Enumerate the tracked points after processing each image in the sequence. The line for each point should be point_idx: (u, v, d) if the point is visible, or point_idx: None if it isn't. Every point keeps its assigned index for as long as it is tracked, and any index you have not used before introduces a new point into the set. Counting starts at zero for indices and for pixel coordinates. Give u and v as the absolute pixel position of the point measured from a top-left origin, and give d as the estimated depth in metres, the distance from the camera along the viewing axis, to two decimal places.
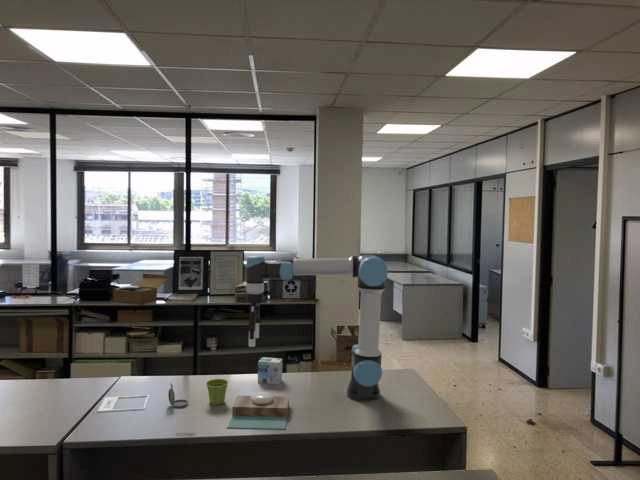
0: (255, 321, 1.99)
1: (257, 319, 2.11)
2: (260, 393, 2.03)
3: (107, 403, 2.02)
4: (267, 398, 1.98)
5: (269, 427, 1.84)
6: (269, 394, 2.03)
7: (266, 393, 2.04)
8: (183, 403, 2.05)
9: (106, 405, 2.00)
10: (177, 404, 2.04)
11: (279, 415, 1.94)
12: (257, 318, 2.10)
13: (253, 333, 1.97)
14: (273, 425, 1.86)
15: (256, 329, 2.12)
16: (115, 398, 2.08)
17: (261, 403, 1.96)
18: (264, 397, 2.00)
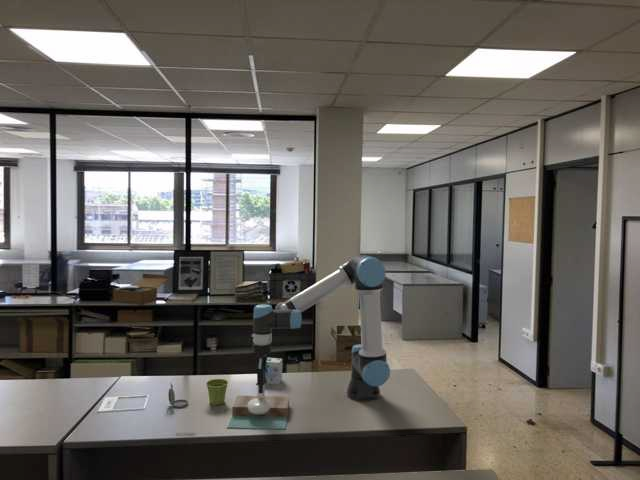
0: None
1: None
2: (257, 400, 1.95)
3: (107, 403, 2.02)
4: (264, 407, 1.90)
5: (269, 427, 1.84)
6: (266, 401, 1.94)
7: (263, 400, 1.95)
8: (183, 403, 2.05)
9: (106, 405, 2.00)
10: (177, 404, 2.04)
11: (279, 415, 1.94)
12: (263, 375, 1.98)
13: (262, 387, 1.96)
14: (273, 425, 1.86)
15: None
16: (115, 398, 2.08)
17: (258, 413, 1.88)
18: (261, 405, 1.91)
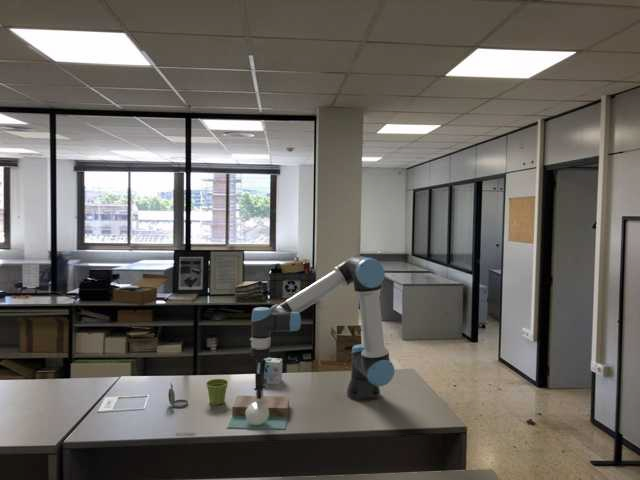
0: (262, 380, 1.90)
1: None
2: (255, 406, 1.89)
3: (107, 403, 2.02)
4: (262, 418, 1.85)
5: (269, 427, 1.84)
6: (264, 408, 1.88)
7: (261, 406, 1.89)
8: (183, 403, 2.05)
9: (106, 405, 2.00)
10: (177, 404, 2.04)
11: (279, 415, 1.94)
12: None
13: (261, 392, 1.90)
14: (273, 425, 1.86)
15: None
16: (115, 398, 2.08)
17: (256, 425, 1.84)
18: (259, 415, 1.86)
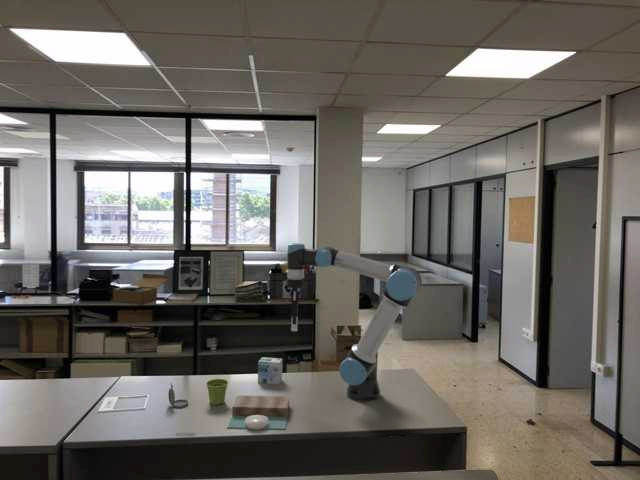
0: None
1: None
2: (255, 416, 1.89)
3: (107, 403, 2.02)
4: (262, 422, 1.84)
5: (269, 427, 1.84)
6: (264, 417, 1.88)
7: (261, 416, 1.89)
8: (183, 403, 2.05)
9: (106, 405, 2.00)
10: (177, 404, 2.04)
11: (279, 415, 1.94)
12: (296, 308, 2.16)
13: (295, 318, 2.14)
14: (273, 425, 1.86)
15: None
16: (115, 398, 2.08)
17: (255, 428, 1.82)
18: (258, 421, 1.85)
